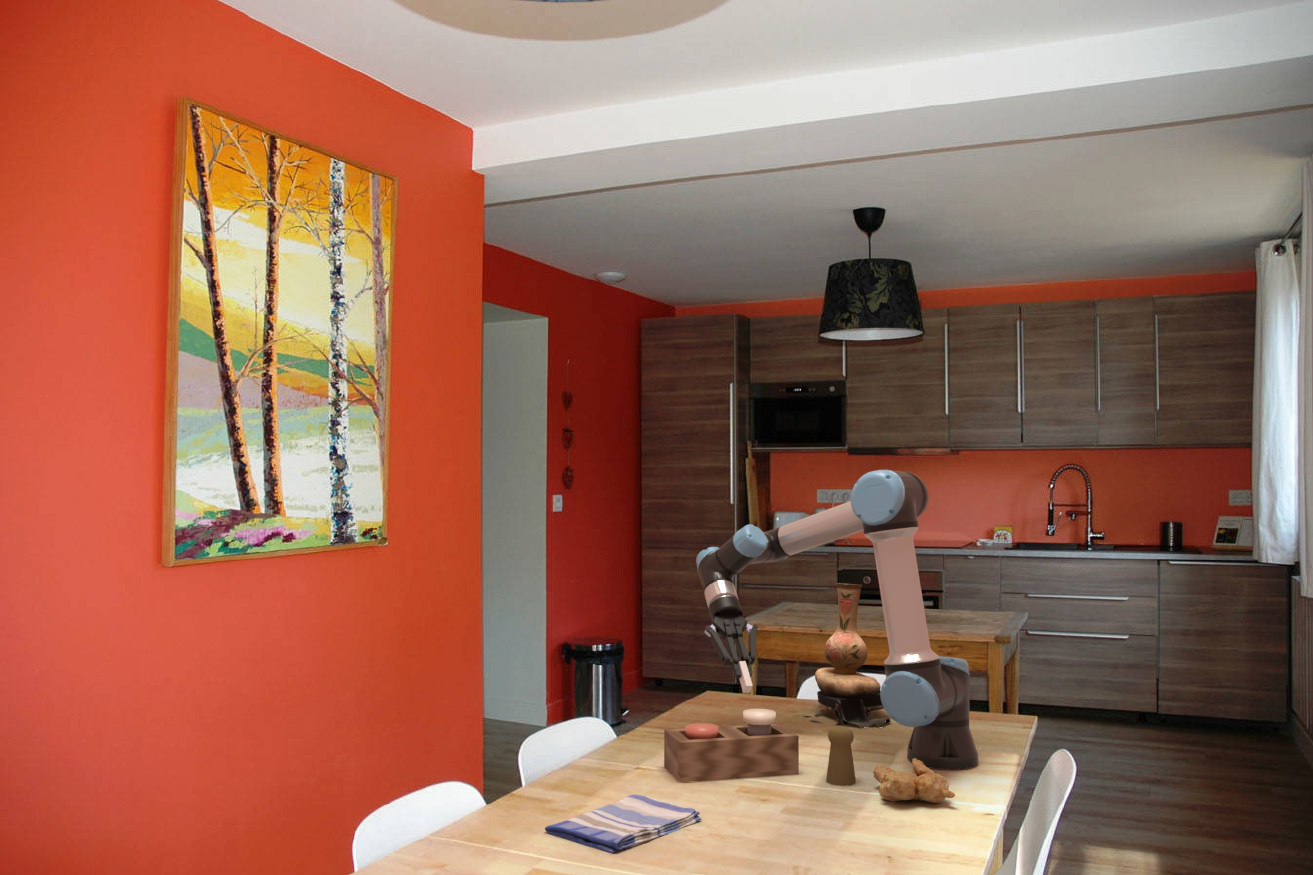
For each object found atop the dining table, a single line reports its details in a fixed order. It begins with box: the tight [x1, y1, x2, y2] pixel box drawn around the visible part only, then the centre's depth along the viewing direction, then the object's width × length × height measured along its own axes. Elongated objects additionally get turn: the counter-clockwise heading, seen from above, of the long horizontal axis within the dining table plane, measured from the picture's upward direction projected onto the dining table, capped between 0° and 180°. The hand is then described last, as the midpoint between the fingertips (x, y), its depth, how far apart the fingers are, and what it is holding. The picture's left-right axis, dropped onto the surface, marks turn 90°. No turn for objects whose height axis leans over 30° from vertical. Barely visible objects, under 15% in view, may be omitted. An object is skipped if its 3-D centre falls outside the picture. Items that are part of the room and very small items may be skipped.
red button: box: [684, 722, 718, 740], centre depth 216 cm, size 7×7×7 cm
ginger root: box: [872, 758, 956, 804], centre depth 198 cm, size 16×16×8 cm
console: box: [663, 722, 800, 783], centre depth 217 cm, size 26×12×8 cm, turn 105°
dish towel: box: [544, 793, 703, 855], centre depth 181 cm, size 17×24×3 cm
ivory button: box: [742, 708, 777, 736], centre depth 219 cm, size 7×7×7 cm
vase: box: [802, 582, 891, 729], centre depth 272 cm, size 24×22×35 cm
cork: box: [825, 725, 857, 787], centre depth 210 cm, size 6×6×11 cm
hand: (747, 689), depth 225 cm, fingers closed
